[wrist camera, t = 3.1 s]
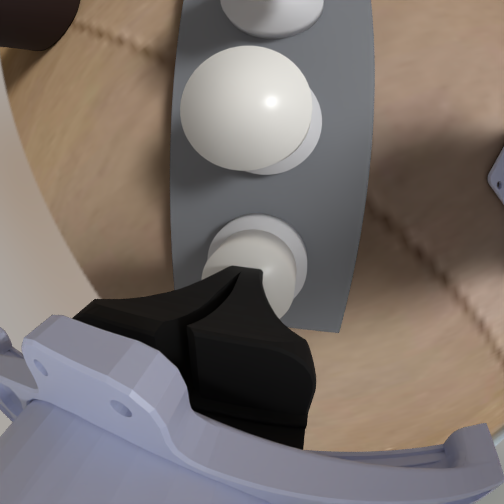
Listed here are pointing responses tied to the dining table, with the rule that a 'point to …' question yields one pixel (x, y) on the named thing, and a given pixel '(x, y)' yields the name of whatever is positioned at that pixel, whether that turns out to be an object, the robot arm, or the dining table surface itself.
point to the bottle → (34, 22)
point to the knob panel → (294, 166)
